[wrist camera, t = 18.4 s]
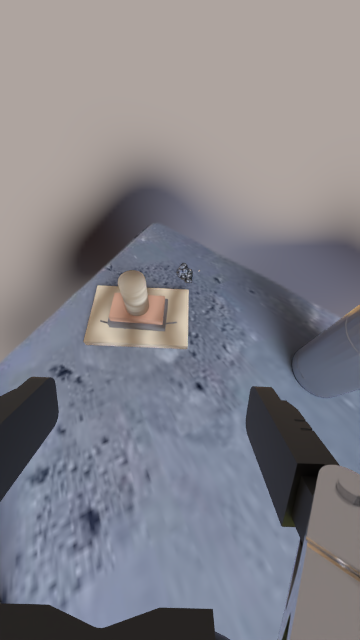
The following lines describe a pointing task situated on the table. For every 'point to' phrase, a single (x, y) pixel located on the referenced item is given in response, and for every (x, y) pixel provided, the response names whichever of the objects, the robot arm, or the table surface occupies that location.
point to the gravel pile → (185, 273)
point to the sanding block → (137, 305)
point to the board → (109, 336)
